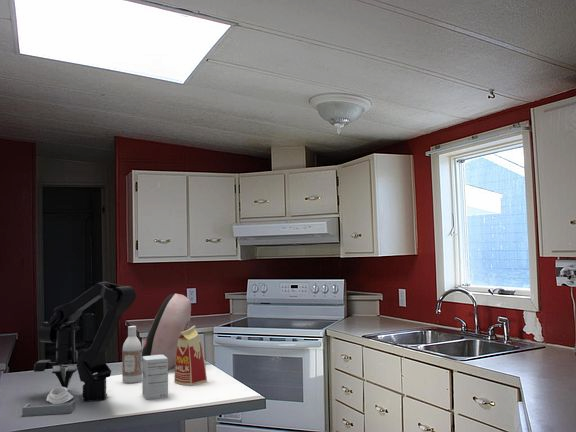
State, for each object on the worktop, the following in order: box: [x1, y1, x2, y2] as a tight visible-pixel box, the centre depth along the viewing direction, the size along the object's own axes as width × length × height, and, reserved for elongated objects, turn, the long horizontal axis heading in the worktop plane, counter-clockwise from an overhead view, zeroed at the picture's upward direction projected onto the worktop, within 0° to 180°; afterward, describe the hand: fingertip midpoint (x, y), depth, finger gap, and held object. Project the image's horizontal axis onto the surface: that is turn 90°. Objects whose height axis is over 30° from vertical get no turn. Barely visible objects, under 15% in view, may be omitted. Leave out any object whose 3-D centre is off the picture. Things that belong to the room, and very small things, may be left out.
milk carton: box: [173, 325, 208, 386], centre depth 198 cm, size 9×9×20 cm
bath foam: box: [121, 325, 143, 384], centre depth 201 cm, size 7×7×20 cm
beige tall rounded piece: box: [142, 293, 192, 370], centre depth 225 cm, size 22×20×30 cm
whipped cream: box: [45, 385, 74, 405], centre depth 176 cm, size 8×7×5 cm
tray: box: [21, 399, 76, 417], centre depth 163 cm, size 14×5×2 cm, turn 99°
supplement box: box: [141, 355, 169, 400], centre depth 180 cm, size 7×7×13 cm
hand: (65, 390), depth 183 cm, fingers closed
